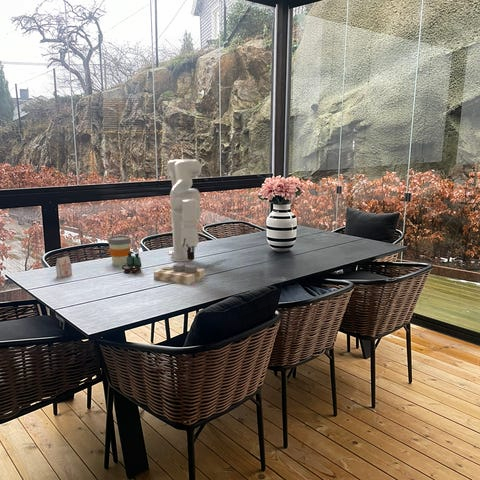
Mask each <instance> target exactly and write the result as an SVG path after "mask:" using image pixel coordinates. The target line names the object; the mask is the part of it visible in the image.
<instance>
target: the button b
mask: <svg viewBox="0 0 480 480" xmlns="http://www.w3.org/2000/svg"><path fill="white" fill-rule="evenodd" d="M172 265H173V267H174V271H176V272H182V271H185V267H186V263H180V262H177V263H176V264H172Z"/></svg>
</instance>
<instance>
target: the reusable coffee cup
mask: <svg viewBox="0 0 480 480" xmlns="http://www.w3.org/2000/svg"><path fill="white" fill-rule="evenodd" d="M107 244H108V245H109V247H108V250H109V254H110V256H111V261H112V265H115V266H123V265H125V264H126V263H127V257H128V252H130V253H131V237H130V236H127V235H115V236H111V237H108V243H107Z"/></svg>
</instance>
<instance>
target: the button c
mask: <svg viewBox="0 0 480 480" xmlns="http://www.w3.org/2000/svg"><path fill="white" fill-rule="evenodd" d="M197 268H198V265H193V264H188V265H185V273H192V274H193V273H195V272H197Z"/></svg>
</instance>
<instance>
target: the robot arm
mask: <svg viewBox="0 0 480 480" xmlns="http://www.w3.org/2000/svg"><path fill="white" fill-rule="evenodd" d="M166 167H167V172H168V174H169V177H170V180H171V190H170V192H169V201H170V202H169V203H170V209H171V210H170V220H171V227H172V251H170V250H169V251H168V253H167V255H168V256H171V257H170V260H171V261H172V262H177V263H181V262H183V263H184V262H189V261H193V260H195V251H196V247H197V245H198V244H199V230H198V223H199V222H200V220H201V198H200V197H201V195H200V191H199V190H198V189H197V188H192V186H193V179H192V177H193V176H194V177H195V176H196V177H197V176H200V175H201V173H202V164H201V162H200V161H199V160H198V159H181V158H180V159H172V160H169V161H168V162H167V166H166Z"/></svg>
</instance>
